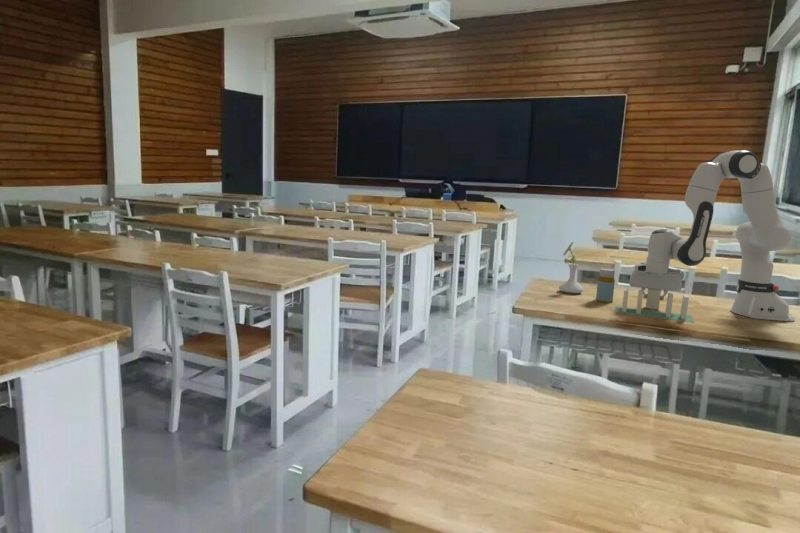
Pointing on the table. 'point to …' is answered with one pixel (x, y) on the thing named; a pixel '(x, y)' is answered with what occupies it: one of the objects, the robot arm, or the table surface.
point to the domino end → (625, 299)
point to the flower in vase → (571, 277)
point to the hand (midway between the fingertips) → (653, 299)
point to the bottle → (605, 285)
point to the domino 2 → (653, 298)
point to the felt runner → (654, 314)
